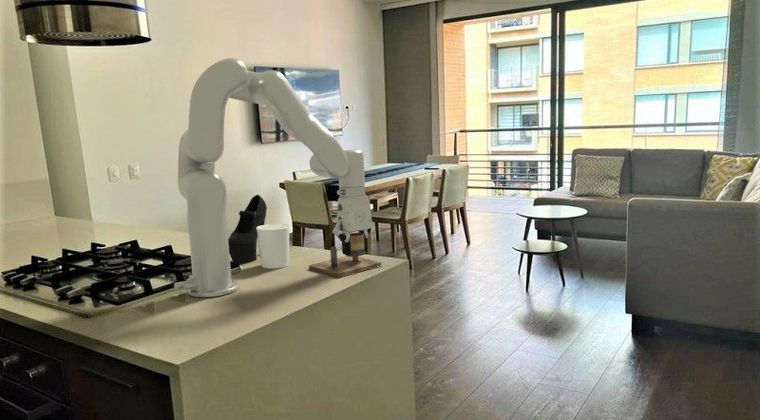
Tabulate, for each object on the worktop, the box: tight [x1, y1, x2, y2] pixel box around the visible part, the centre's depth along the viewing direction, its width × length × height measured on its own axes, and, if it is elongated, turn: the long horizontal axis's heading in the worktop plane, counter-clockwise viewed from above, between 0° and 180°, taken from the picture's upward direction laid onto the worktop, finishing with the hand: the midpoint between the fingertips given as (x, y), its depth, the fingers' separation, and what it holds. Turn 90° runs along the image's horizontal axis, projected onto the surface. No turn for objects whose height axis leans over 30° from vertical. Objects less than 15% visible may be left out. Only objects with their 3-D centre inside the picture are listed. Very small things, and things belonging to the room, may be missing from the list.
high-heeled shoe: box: [228, 194, 268, 264], centre depth 174 cm, size 8×19×20 cm, turn 158°
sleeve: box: [345, 231, 366, 257], centre depth 163 cm, size 6×6×6 cm
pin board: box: [308, 245, 382, 278], centre depth 160 cm, size 16×14×7 cm
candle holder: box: [256, 223, 290, 270], centre depth 166 cm, size 10×10×12 cm
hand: (355, 251), depth 163 cm, fingers closed on sleeve, 5 cm apart
